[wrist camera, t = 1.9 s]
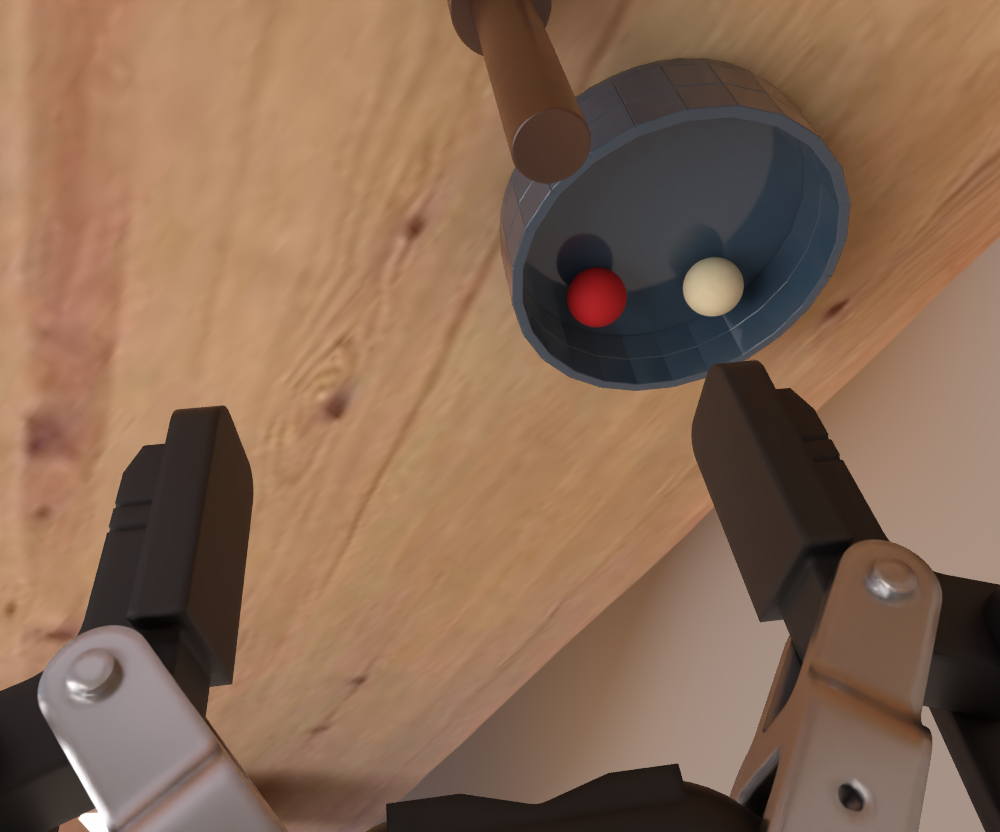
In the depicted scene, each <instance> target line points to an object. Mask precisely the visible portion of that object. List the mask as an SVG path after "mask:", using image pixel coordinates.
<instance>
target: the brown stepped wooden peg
mask: <svg viewBox="0 0 1000 832" xmlns="http://www.w3.org/2000/svg"><path fill="white" fill-rule="evenodd" d="M447 1H448V6H449V10H450V14H451V19H452V23H453V25H454V28H455V30H456V32H457V34H458V36H459V37H460V39H461V40H462V41H463V42H464V44H465V45H466V46H467V47H469V48H470V49H471V50H473V51H474V52H476V53H478V54H480V55H482V56H484V59H485V63H486V66H487V70H488V74H489V77H490V81H491V84H492V88H493V91H494V95H495V99H496V102H497V106H498V109H499V113H500V116H501V120H502V124H503V127H504V131H505V134H506V138H507V142H508V145H509V149H510V152H511V156H512V159H513V162H514V164H515V166H516V168H517V169H518V171H519V172H520V173H521V174H522V175H523V176H525V177H526V178H528V179H530V180H532V181H534V182H538V183H545V184H547V183H556V182H560V181H562V180H565V179H567V178H569V177H570V176H572V175H573V174H574V173H576V172H577V171H578V170H579V169H580V168H581V166H582V165H583V164H584V162H585V161H586V159H587V156H588V154H589V151H590V147H591V134H590V130H589V127H588V125H587V123H586V121H585V118H584V116H583V114H582V112H581V109H580V107H579V105H578V102H577V100H576V98H575V96H574V93H573V91H572V89H571V86H570V84H569V82H568V80H567V77H566V75H565V73H564V71H563V68H562V66H561V64H560V61H559V59H558V57H557V55H556V52H555V50H554V48H553V46H552V43H551V41H550V39H549V36H548V34H547V32H546V30H545V27H546V25H547V22H548V19H549V16H550V12H551V3H552V0H447Z"/></svg>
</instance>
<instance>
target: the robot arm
mask: <svg viewBox="0 0 1000 832" xmlns="http://www.w3.org/2000/svg"><path fill="white" fill-rule="evenodd" d="M692 446H693V451H694V455H695V458H696V461H697V463H698V466H699V468H700V471H701V473H702V476H703V478H704V481H705V483H706V486H707V489H708V491H709V494H710V496H711V499H712V501H713V504H714V506H715V509H716V511H717V514H718V516H719V519H720V522H721V524H722V527H723V529H724V532H725V534H726V537H727V539H728V542H729V545H730V547H731V549H732V552H733V555H734V557H735V560H736V562H737V565H738V567H739V570H740V572H741V575H742V578H743V580H744V583H745V585H746V588H747V590H748V593H749V595H750V598H751V600H752V603H753V605H754V608H755V610H756V613H757V615H758V618H759V621H760V622H766V621H774V620H782V619H784V622H785V624H786V627H787V629H788V631H789V634H790V636H789V638H788V640H787V642H786V644H785V647H784V650H783V653H782V656H781V659H780V662H779V666H778V668H777V671H776V674H775V677H774V681H773V683H772V686H771V689H770V692H769V696H768V699H767V701H766V704H765V707H764V710H763V713H762V716H761V719H760V723H759V726H758V728H757V731H756V734H755V737H754V740H753V742H752V745H751V747H750V749H749V751H748V754H747V755H746V757H745V759H744V761H743V763H742V766H741V768H740V770H739V773H738V775H737V778H736V780H735V783H734V785H733V788H732V791H731V794H730V797H728V796H726V795H724V794H722V793H720V792H717V791H715V790H713V789H710V788H708V787H704V786H701V785H698V784H694V783H691V782H685V781H683V779H682V776H681V772H680V768H679V765H678V764H671V765H664V766H656V767H650V768H642V769H635V770H628V771H621V772H613V773H608V774H606V775H603V776H601V777H599V778H597V779H595V780H592V781H590V782H588V783H586V784H584V785H581V786H579V787H577V788H575V789H573V790H570V791H568V792H566V793H564V794H562V795H559V796H557V797H555V798H553V799H551V800H549V801H546V802H544V803H541V804H527V803H520V802H513V801H506V800H499V799H492V798H485V797H479V796H472V795H465V794H454V795H448V796H440V797H433V798H426V799H418V800H411V801H404V802H397V803H389V804H386V810H387V821H386V822H384V823H381V824H379V825H377V826H375V827H373V828H371V829H370V830H368V831H366V832H918V829H919V823H920V817H921V812H922V806H923V800H924V794H925V788H926V783H927V777H928V771H929V766H930V760H931V753H932V735H931V732H930V730H929V728H927V727H925V726H923V725H922V723H921V712H922V706H927V707H929V708H930V710H931V713H932V715H933V717H934V719H935V722H936V724H937V726H938V728H939V730H940V733H941V735H942V737H943V739H944V742H945V744H946V746H947V748H948V750H949V752H950V755H951V757H952V759H953V761H954V763H955V765H956V768H957V770H958V772H959V775H960V777H961V779H962V781H963V783H964V786H965V788H966V790H967V792H968V794H969V796H970V799H971V801H972V803H973V805H974V808H975V810H976V812H977V814H978V816H979V818H980V821H981V823H982V825H983V827H984V830H985V831H986V832H1000V585H998V584H992V583H987V582H982V581H977V580H971V579H966V578H960V577H955V576H949V575H945V574H941V573H937V572H934V571H932V569H931V568H930V567H929V565H928V564H926V562H925V561H924V560H922V559H921V558H920V557H919V556H918V555H916V554H915V553H913V552H912V551H910V550H909V549H907V548H905V547H903V546H901V545H898V544H896V543H892V542H890V541H889V540H888V538H887V537H886V536H885V534H884V532H883V531H882V529H881V527H880V525H879V523H878V522H877V520H876V518H875V517H874V515H873V513H872V511H871V509H870V507H869V506H868V504H867V502H866V500H865V499H864V497H863V495H862V493H861V492H860V490H859V488H858V486H857V484H856V483H855V481H854V479H853V477H852V475H851V474H850V472H849V470H848V468H847V467H846V465H845V463H844V461H843V460H840V458H839V455H840V454H839V452H838V451H837V449H836V447H835V445H834V444H833V442H832V440H831V439H830V440H829V439H828V433H827V431H826V429H825V427H824V426H823V424H822V422H821V420H820V419H819V417H818V415H817V413H816V411H815V410H814V409H813V408H812V407H811V406H810V405H809V404H808V403H807V402H805V401H804V400H803V399H802V398H801V397H800V396H799V395H797V394H796V393H795V392H794V391H793V390H792V389H791V388H785V389H775V387H774V385H773V383H772V381H771V379H770V377H769V375H768V373H767V371H766V370H765V368H764V366H763V365H762V364H761V363H760V362H759V361H756V360H753V361H742V362H731V363H719V364H713V365H711V367H710V368H709V370H708V373H707V376H706V379H705V383H704V386H703V389H702V393H701V396H700V399H699V403H698V406H697V409H696V413H695V416H694V419H693V423H692ZM115 503H116V508H114V509H113V513H112V517H111V521H110V524H109V528H110V532H109V533H107V536H106V540H105V543H104V547H103V551H102V555H101V558H100V562H99V566H98V570H97V573H96V577H95V581H94V585H93V589H92V592H91V596H90V600H89V604H88V607H87V611H86V615H85V619H84V622H83V624H82V627H81V629H80V631H79V633H78V635H77V637H75V638H73V639H72V640H71V641H69V642H68V643H67V644H65V645H64V646H63V647H62V648H61V649H60V650H59V651H58V652H57V653H56V654H55V655H54V656H53V658H52V659H51V660H50V661H49V663H48V665H47V666H46V668H45V670H44V671H42V672H41V673H39V674H37V675H36V676H34V677H32V678H30V679H28V680H26V681H24V682H21V683H19V684H16V685H14V686H12V687H9V688H7V689H4V690H2V691H0V832H58V831H59V825H61V824H63V823H65V822H67V821H69V820H71V819H73V818H76V817H78V816H80V815H82V814H84V813H86V812H88V811H90V810H92V809H95V808H96V809H97V811H98V812H99V814H100V816H101V818H102V819H103V821H104V823H105V825H106V827H107V829H108V831H109V832H288V830H287V829H286V828H285V826H284V825H283V824H282V822H281V821H280V820H279V818H278V817H277V816H276V814H275V813H274V812H273V810H272V809H271V807H270V806H269V805H268V803H267V802H266V800H265V799H264V798H263V796H262V795H261V793H260V792H259V791H258V789H257V788H256V786H255V785H254V784H253V782H252V781H251V779H250V778H249V777H248V775H247V774H246V772H245V771H244V770H243V768H242V767H241V765H240V764H239V763H238V761H237V760H236V758H235V757H234V756H233V754H232V753H231V751H230V750H229V749H228V747H227V746H226V744H225V743H224V741H223V740H222V739H221V737H220V736H219V734H218V733H217V732H216V730H215V729H214V727H213V726H212V725H211V723H210V722H209V720H208V719H207V718H206V709H207V702H208V695H209V687H212V686H221V685H229V684H232V681H233V672H234V663H235V654H236V645H237V637H238V628H239V619H240V610H241V601H242V593H243V584H244V575H245V566H246V557H247V549H248V540H249V531H250V522H251V514H252V505H253V479H252V472H251V468H250V464H249V461H248V459H247V456H246V454H245V451H244V448H243V446H242V443H241V441H240V438H239V436H238V433H237V431H236V428H235V425H234V423H233V420H232V418H231V415H230V413H229V411H228V409H227V408H226V407H225V406H212V407H201V408H190V409H178V410H175V411H174V412H173V414H172V416H171V420H170V424H169V429H168V433H167V438H166V442H165V444H157V445H146V446H143V447H142V449H141V450H140V451H139V453H138V454H137V455H136V457H135V458H134V459H133V461H132V462H131V463H130V465H129V466H128V467H127V469H126V470H125V471H124V473H123V475H122V479H121V483H120V487H119V491H118V494H117V498H116V502H115Z"/></svg>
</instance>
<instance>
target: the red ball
mask: <svg viewBox="0 0 1000 832" xmlns="http://www.w3.org/2000/svg"><path fill="white" fill-rule="evenodd" d="M626 300H627V294H626V289H625V285H624V283H623V281H622V280H621V279H620V277H619V276H618V275H617V274H616V273H614V272H613V271H611V270H609V269H606V268H601V267H593V268H589V269H586V270H584V271H582V272H580V273H579V274H578V275H577V276H576V277H575V278H574V279H573V280H572V282H571V284H570V286H569V288H568V292H567V303H568V307H569V310H570V312H571V314H572V315H573V316H574V318H575V319H576V320H577V321H579V322H580V323H582V324H584V325H586V326H590V327H603V326H606V325H609V324H611V323H612V322H614V321H615V320H616V319H617V318H618V317H619V316H620V315H621V314H622V312H623V310H624V308H625V305H626Z"/></svg>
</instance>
